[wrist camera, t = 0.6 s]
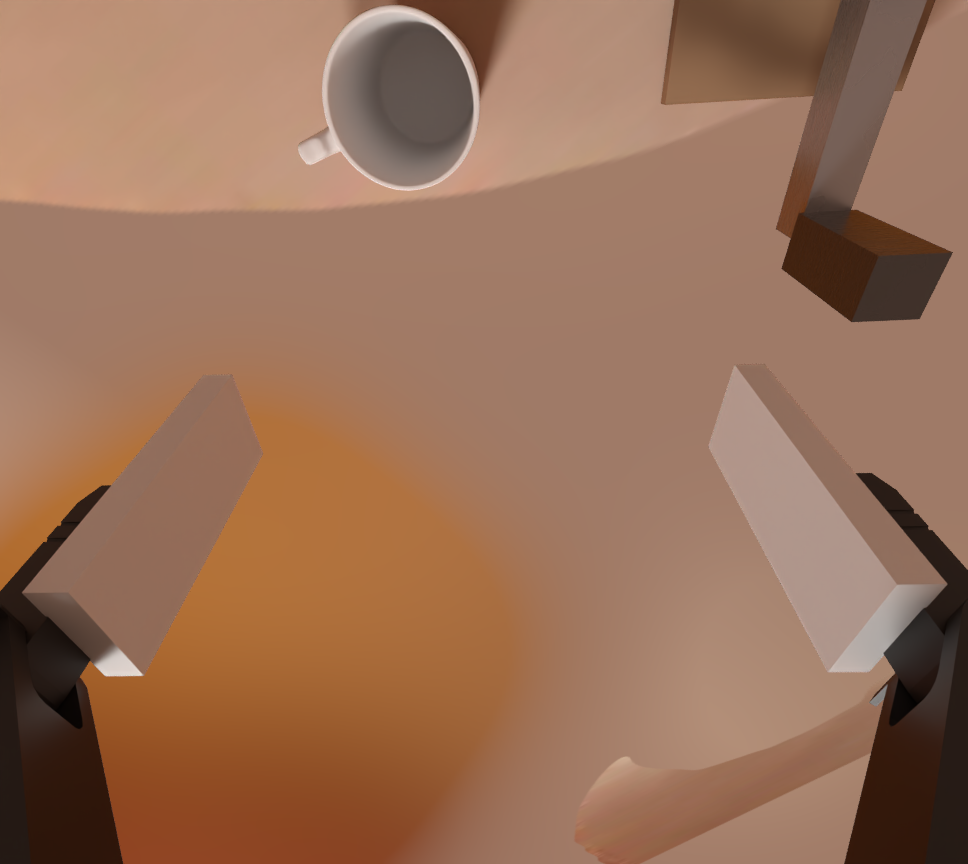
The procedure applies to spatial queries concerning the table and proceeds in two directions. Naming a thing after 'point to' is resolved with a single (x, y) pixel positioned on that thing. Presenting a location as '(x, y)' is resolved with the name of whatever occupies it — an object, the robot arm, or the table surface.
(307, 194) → the table surface
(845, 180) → the grey l-shaped bar
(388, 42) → the mug
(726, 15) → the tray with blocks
